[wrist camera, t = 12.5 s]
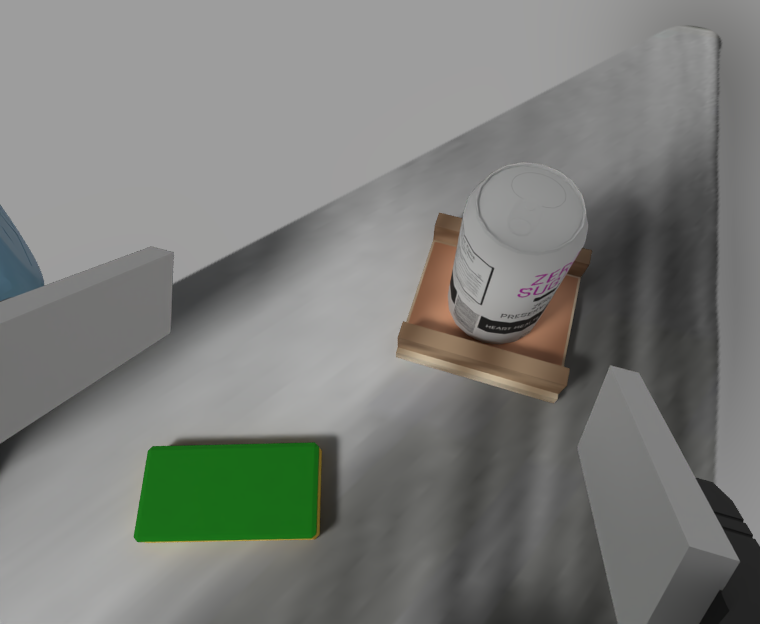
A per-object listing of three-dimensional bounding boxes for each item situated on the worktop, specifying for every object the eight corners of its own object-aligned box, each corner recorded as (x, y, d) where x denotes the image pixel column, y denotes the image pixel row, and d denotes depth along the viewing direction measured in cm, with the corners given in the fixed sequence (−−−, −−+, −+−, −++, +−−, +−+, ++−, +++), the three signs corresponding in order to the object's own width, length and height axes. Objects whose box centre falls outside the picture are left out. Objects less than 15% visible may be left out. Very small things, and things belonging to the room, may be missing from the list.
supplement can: (469, 251, 50) (496, 139, 36) (552, 288, 48) (613, 183, 34) (431, 321, 47) (444, 228, 33) (518, 362, 45) (569, 281, 32)
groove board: (396, 357, 47) (396, 342, 44) (438, 229, 52) (440, 208, 49) (553, 403, 45) (565, 391, 42) (580, 265, 50) (592, 245, 47)
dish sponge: (160, 451, 45) (148, 446, 43) (322, 447, 45) (318, 442, 42) (146, 542, 42) (132, 542, 40) (320, 539, 42) (315, 538, 39)
